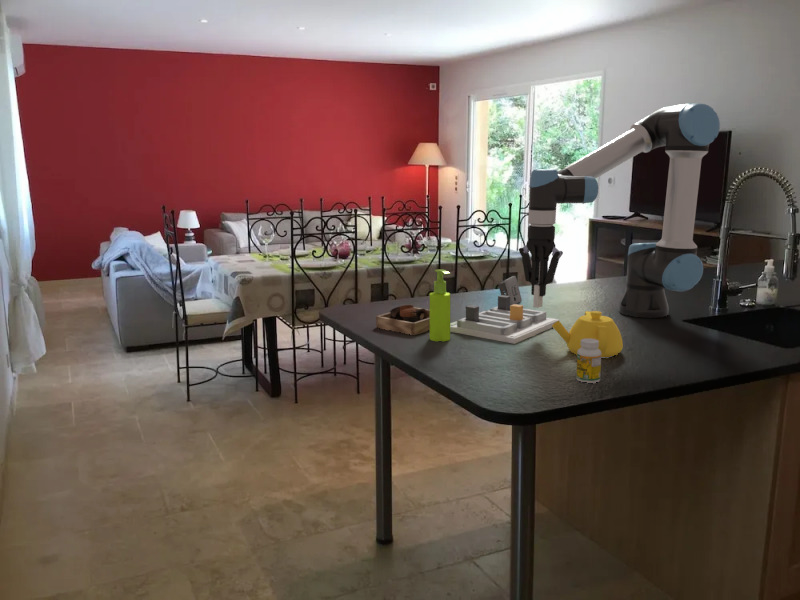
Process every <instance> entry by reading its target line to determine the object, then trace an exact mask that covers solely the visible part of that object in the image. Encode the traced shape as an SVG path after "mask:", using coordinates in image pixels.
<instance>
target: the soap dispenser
mask: <svg viewBox="0 0 800 600" xmlns="http://www.w3.org/2000/svg"><path fill="white" fill-rule="evenodd" d="M434 272H435V273H436V279H435V280H434V281H433V288H434V289H433V292H430V293H429V310H430V330H429V340H430V341H433V342H438V341H442V342H448V341H450V340H451V332H450V323H451V293H450V292H447V281H446V280H444V276H448V275H451V272H449V271H448V270H446V269H442V268H441V269H434Z"/></svg>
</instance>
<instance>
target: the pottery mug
mask: <svg viewBox="0 0 800 600" xmlns="http://www.w3.org/2000/svg"><path fill="white" fill-rule="evenodd" d="M414 307H415V306H414V305H413V304H405V305H400V306H397V307H396V306H395V307H394V308H392V309H391V310H389V312H390V313H391V315H390V318H391V319H397V320H402V321H407V322H413V323H414V322H417V321H420V320H423V319H427V318H428V316H429V314H428V311H427V310H426V309H427V308H422V309H418V310H415V309H414ZM415 313H416V315H415ZM422 313H424V317H423V318H422V319H420V316H421V314H422Z"/></svg>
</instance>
